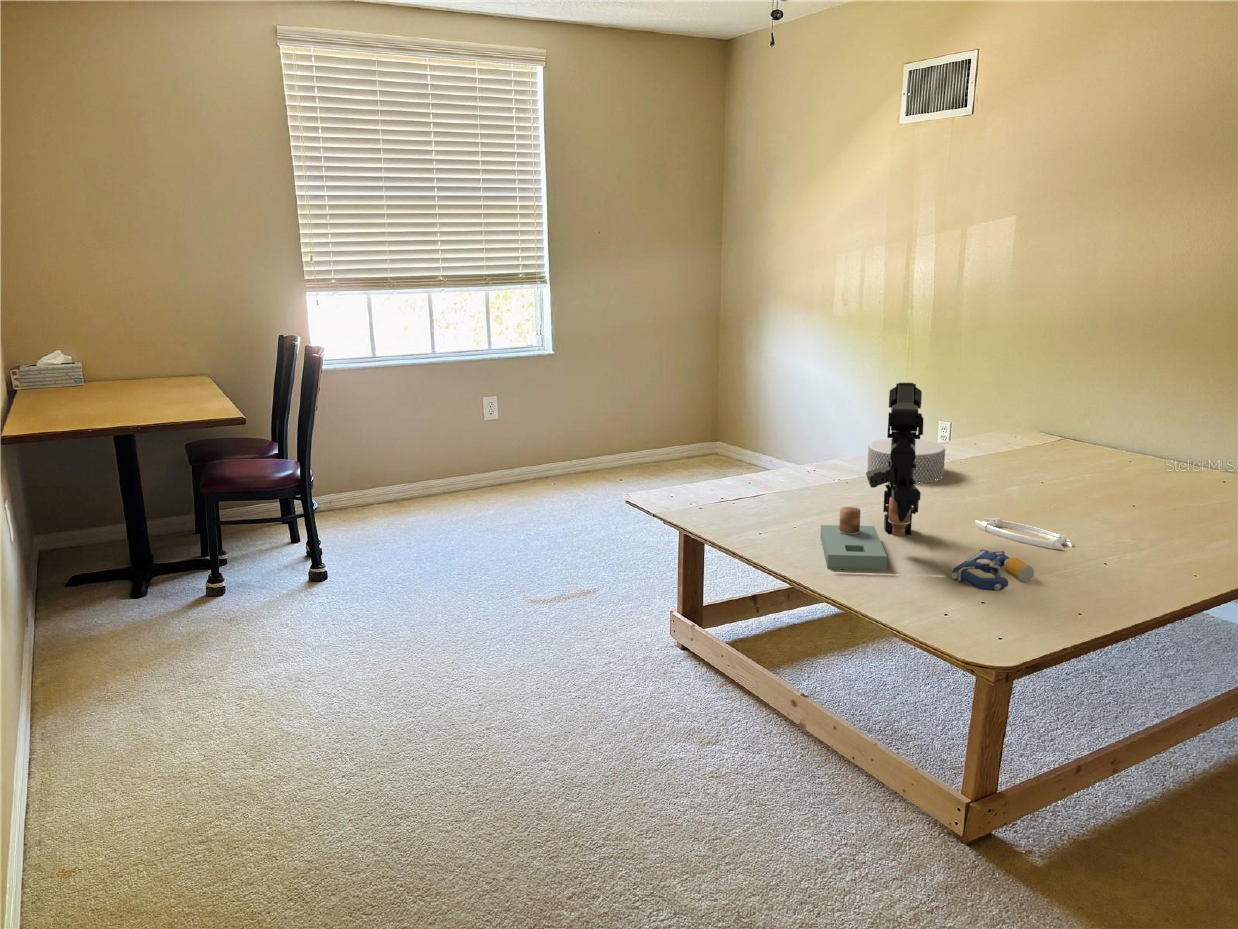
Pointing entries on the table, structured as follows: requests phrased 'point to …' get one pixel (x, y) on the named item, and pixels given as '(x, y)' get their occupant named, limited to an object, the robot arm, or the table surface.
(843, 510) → the seated peg
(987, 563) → the spray gun
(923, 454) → the knob
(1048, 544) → the door handle
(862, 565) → the board
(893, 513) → the peg
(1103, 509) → the table surface
